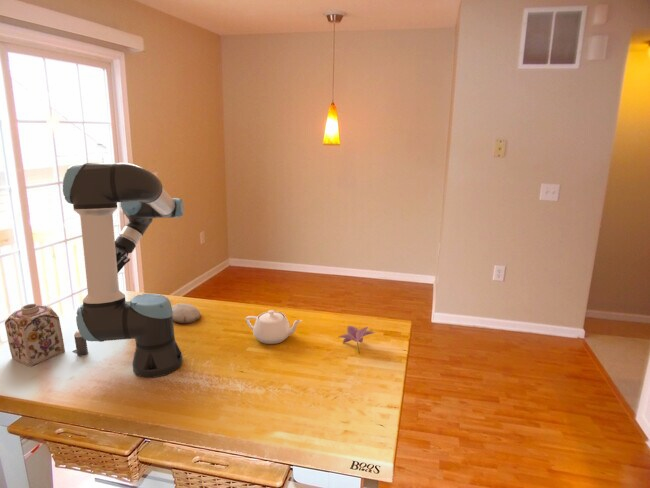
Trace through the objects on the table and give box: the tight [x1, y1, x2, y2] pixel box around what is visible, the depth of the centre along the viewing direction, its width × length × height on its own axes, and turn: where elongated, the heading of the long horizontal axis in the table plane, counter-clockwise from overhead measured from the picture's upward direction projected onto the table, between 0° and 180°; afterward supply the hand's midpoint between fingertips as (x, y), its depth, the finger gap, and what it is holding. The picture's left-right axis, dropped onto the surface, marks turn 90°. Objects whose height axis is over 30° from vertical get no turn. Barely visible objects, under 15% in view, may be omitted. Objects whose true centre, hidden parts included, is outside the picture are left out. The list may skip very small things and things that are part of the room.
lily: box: [338, 325, 376, 354], centre depth 149 cm, size 12×12×10 cm
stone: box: [171, 302, 201, 325], centre depth 173 cm, size 13×10×8 cm
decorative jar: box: [4, 303, 66, 367], centre depth 143 cm, size 12×12×18 cm
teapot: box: [245, 309, 303, 345], centre depth 156 cm, size 22×14×11 cm, turn 73°
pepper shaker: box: [74, 330, 89, 357], centre depth 145 cm, size 3×3×9 cm
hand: (93, 292), depth 161 cm, fingers closed
